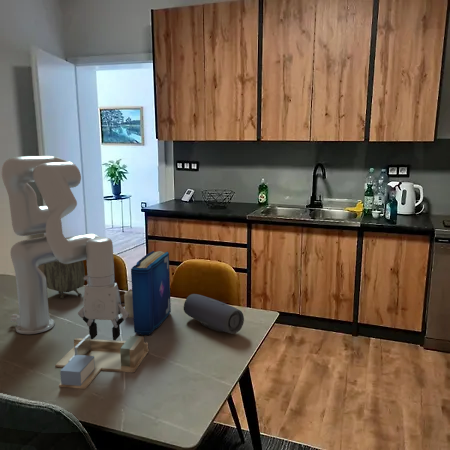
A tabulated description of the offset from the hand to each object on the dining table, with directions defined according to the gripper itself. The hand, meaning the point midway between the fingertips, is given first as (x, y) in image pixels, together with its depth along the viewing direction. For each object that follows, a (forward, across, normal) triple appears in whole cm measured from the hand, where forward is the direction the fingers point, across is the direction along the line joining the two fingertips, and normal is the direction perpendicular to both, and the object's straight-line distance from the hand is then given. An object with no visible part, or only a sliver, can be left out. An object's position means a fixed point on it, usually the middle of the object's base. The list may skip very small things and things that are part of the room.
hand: (104, 337), depth 131 cm
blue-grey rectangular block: (+7, -3, -11) cm, 13 cm away
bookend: (+7, -7, 0) cm, 9 cm away
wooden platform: (+7, -1, 0) cm, 7 cm away
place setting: (+8, -11, +46) cm, 48 cm away
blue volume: (+7, +6, +28) cm, 29 cm away
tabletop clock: (+7, -39, +50) cm, 64 cm away
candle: (+7, -4, +35) cm, 36 cm away
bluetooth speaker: (+8, +28, +29) cm, 41 cm away
